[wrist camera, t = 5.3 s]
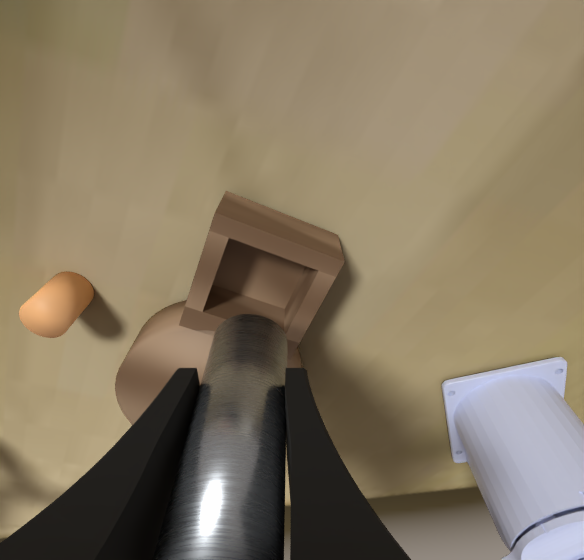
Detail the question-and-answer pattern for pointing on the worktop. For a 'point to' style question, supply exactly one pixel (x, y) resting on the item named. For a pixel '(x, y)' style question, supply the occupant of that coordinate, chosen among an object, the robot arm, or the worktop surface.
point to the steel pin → (233, 452)
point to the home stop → (57, 305)
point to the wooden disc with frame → (234, 295)
